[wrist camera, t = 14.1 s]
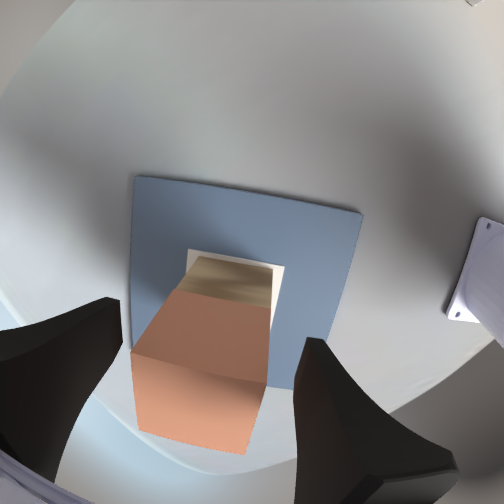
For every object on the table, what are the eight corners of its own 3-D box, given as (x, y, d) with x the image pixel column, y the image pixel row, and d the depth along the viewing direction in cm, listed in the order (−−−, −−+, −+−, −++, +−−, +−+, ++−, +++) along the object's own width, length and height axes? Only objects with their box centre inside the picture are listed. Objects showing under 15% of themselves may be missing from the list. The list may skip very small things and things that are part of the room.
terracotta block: (271, 308, 14) (266, 383, 9) (253, 380, 15) (244, 455, 11) (173, 288, 14) (130, 351, 9) (170, 362, 15) (138, 429, 11)
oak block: (272, 269, 19) (271, 309, 14) (260, 331, 20) (254, 381, 15) (199, 255, 19) (173, 291, 14) (193, 318, 20) (171, 364, 15)
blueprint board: (360, 213, 18) (363, 215, 17) (306, 386, 22) (307, 392, 22) (138, 175, 18) (134, 176, 17) (136, 352, 23) (133, 357, 22)
